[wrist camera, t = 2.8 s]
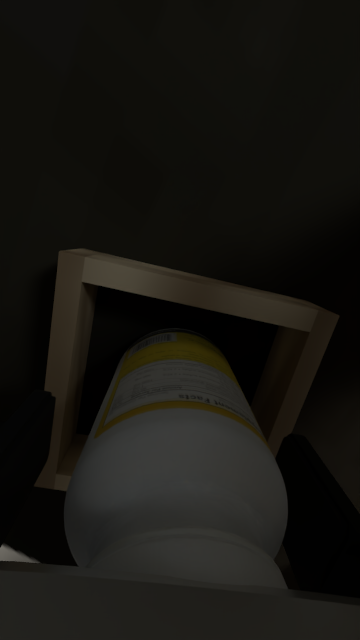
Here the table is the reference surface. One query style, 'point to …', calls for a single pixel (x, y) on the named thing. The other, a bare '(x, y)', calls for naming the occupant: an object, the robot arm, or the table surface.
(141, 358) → the pill bottle
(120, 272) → the oak cradle
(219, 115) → the table surface
